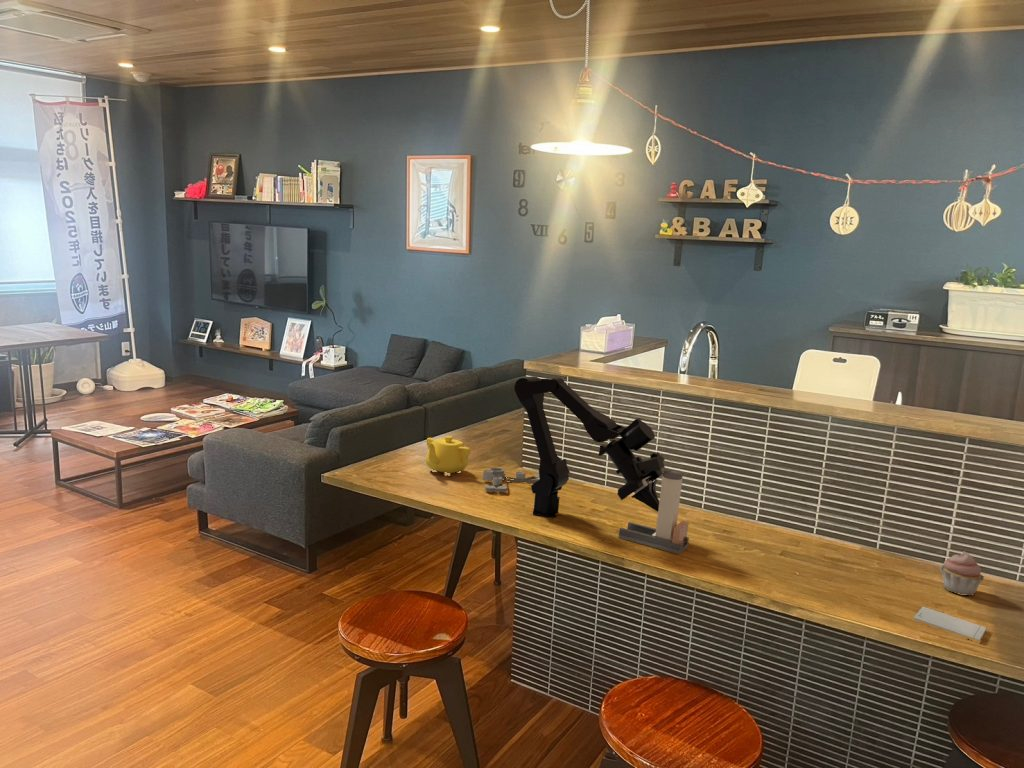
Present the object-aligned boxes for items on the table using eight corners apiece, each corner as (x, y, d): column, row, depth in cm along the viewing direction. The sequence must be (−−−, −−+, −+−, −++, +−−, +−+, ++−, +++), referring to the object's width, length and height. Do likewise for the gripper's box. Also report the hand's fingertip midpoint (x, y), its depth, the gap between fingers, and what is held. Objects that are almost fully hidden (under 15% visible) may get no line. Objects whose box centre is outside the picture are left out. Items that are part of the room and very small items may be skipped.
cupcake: (933, 579, 186) (940, 541, 184) (976, 588, 182) (984, 549, 181) (938, 593, 177) (946, 553, 176) (984, 603, 174) (992, 562, 172)
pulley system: (460, 487, 232) (497, 497, 222) (461, 472, 231) (498, 481, 222) (515, 475, 253) (551, 484, 244) (516, 462, 252) (552, 469, 243)
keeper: (650, 539, 193) (658, 472, 190) (657, 534, 197) (664, 468, 194) (672, 545, 190) (681, 477, 187) (679, 540, 194) (687, 473, 191)
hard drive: (913, 616, 161) (980, 638, 153) (923, 605, 167) (987, 626, 159) (912, 623, 161) (978, 646, 153) (921, 612, 167) (986, 633, 159)
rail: (618, 537, 196) (621, 514, 195) (628, 530, 203) (631, 507, 202) (679, 554, 188) (682, 529, 187) (688, 546, 194) (691, 522, 193)
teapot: (420, 465, 249) (422, 430, 247) (463, 466, 252) (465, 432, 250) (424, 477, 235) (426, 441, 233) (469, 478, 238) (472, 442, 237)
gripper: (634, 449, 186) (671, 502, 182) (660, 437, 202) (695, 486, 198) (601, 473, 191) (637, 525, 187) (629, 460, 207) (663, 508, 203)
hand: (659, 510), depth 194 cm, fingers closed, pressing on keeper
